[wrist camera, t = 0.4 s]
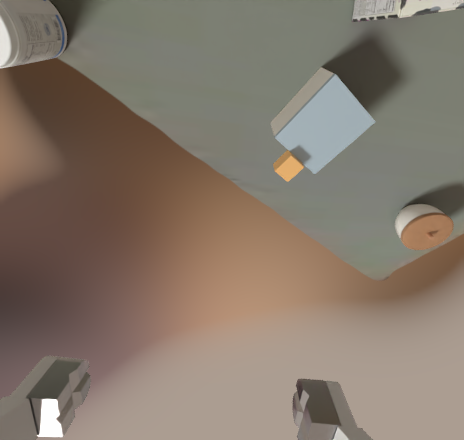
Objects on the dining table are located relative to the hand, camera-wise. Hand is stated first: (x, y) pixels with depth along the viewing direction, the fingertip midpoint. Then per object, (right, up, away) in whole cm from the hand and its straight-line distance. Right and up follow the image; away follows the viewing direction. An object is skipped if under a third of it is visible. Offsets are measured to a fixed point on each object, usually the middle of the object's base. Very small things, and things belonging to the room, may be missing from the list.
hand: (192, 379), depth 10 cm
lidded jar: (+47, +8, +56) cm, 74 cm away
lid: (+16, +22, +37) cm, 46 cm away
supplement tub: (-31, +40, +34) cm, 61 cm away
